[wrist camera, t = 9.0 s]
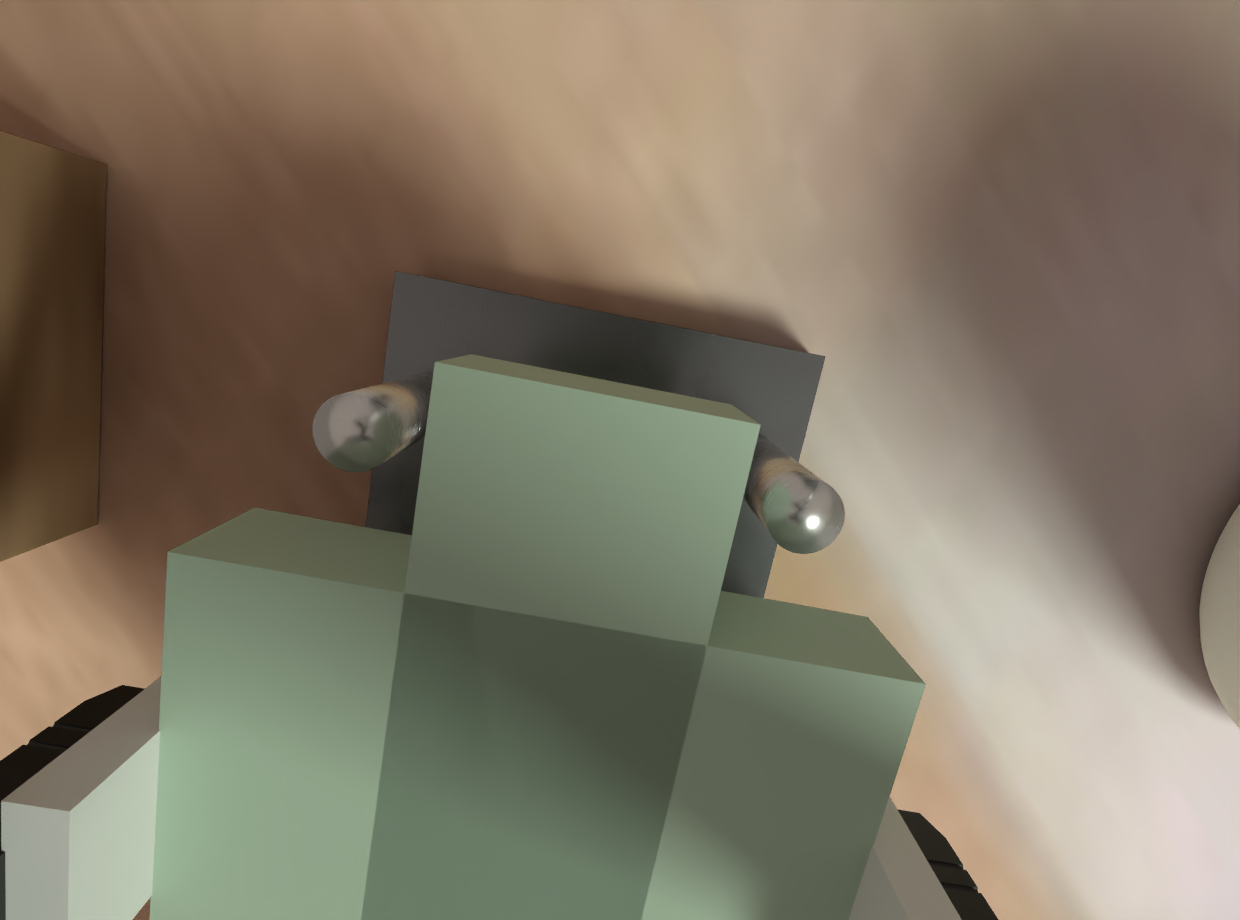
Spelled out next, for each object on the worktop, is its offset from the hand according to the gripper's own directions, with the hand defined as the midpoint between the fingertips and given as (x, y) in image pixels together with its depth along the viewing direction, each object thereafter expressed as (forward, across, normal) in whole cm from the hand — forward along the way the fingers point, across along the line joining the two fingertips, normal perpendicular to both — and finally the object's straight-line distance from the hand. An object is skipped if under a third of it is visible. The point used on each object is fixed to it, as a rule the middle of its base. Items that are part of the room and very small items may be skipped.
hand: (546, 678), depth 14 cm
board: (-3, 0, 0) cm, 3 cm away
